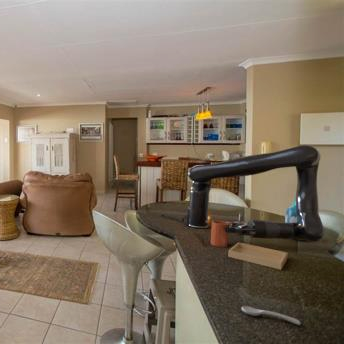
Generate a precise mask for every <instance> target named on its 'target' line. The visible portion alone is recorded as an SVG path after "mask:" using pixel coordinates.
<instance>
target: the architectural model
mask: <svg viewBox="0 0 344 344" xmlns="http://www.w3.org/2000/svg"><path fill="white" fill-rule="evenodd" d="M238 221H240V222H242V223H245V224H247V223H248V221H247V220H245V214H241V213H239V216H238ZM229 225H232V224H229Z"/></svg>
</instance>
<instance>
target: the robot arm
mask: <svg viewBox="0 0 344 344" xmlns="http://www.w3.org/2000/svg"><path fill="white" fill-rule="evenodd" d="M321 157H322V155H321V153H320V151H319V150H318V149H317V148H316V147H314V146H312V145H308V144H302V145H301V144H300V145H297V146H293V147H290V148H285V149H282V150H278V151H274V152H267V153H259V154H251V155H245V156H240V157H235V158H230V159H227V160H224V161H221V162H216V163H211V164H196V165H193V166H192V167H191V168H190V169H189V170H188V173H187V176H188V178H189V180H191V181H192V185H191V187H190V189H189V197H188V201H189V202H188V207H187V208H186V210H187V211H186V214H185V215H184V216H182V217H181V219H179V218H177V217H174V216H169V215H167V214H166V213H162V214H161V215H160V217H163V216H164V217H166V218H168V219H172V220H175V221H178V222H181V223H182V222H184V221H186V226H187V227H190V228H195V229H208V223H209V206H210V192H211V190H212V180H216V179H222V178H225V179H226V178H239V177H240V178H241V177H248V176H253V175H259V174H263V173H267V172H269V171H272V170H273V171H274V170H276V169H285V168H295V170H296V171H295V172H296V177H297V178H296V179H297V183H296V192H295V198H296V213H297V215H298V216H300V217H301V218H302V222H303V223H286V222H285V221H274V220H273V221H272V220H262V219H249V221H247V224H245V223H242V222H240V221H239V220H238V221H236V220H226V221H225V222H228V223H229V224H232V225H229V227H225V232H227V233H228V234H229V233H230V234H236V235H239V236H246V237H248V236H249V237H250V238H255V239H271V240H272V239H279V240H280V239H281V240H290V239H293V240H297V239H303V240H302V241H308V242H319V241H321V240H322V239H323V237H324V235H325V228H324V224H323V222H322V218H321V216H320V213H319V193H318V192H319V191H318V171H319V166H320V161H321Z"/></svg>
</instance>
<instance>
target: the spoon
mask: <svg viewBox="0 0 344 344" xmlns="http://www.w3.org/2000/svg"><path fill="white" fill-rule="evenodd" d="M241 311H242V312H243V313H245V314H247V315H249V316H252V317H257V316H260V315H267V316H268V315H269V316H273V317H276V318H279V319H282V320H285V321H287V322H290V323H292V324H294V325H297V326H301V325H302V324H301V321H300V320H298V318H295V317H292V316H288V315H286V314H282V313H279V312H275V311H270V310H265V309H257V308H255V307H253V306H248V305H242V306H241Z"/></svg>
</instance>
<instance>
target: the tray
mask: <svg viewBox="0 0 344 344" xmlns="http://www.w3.org/2000/svg"><path fill="white" fill-rule="evenodd" d="M227 253H228V254H227V257H228V258H232V259H235V260H239V261H244V262H248V263H252V264H256V265H260V266H263V267H269V268H272V269H276V270H280V271H281V270H282V269H283V267H284V265H285V264H286V262H287V260H288V254H289V253H288V252H287V251H282V250H277V249H272V248H268V247H262V246H258V245H253V244H250V243H244V242H237V243H236V244H235V245H233V246H232V247H231V248H229V249H228V252H227Z"/></svg>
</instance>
